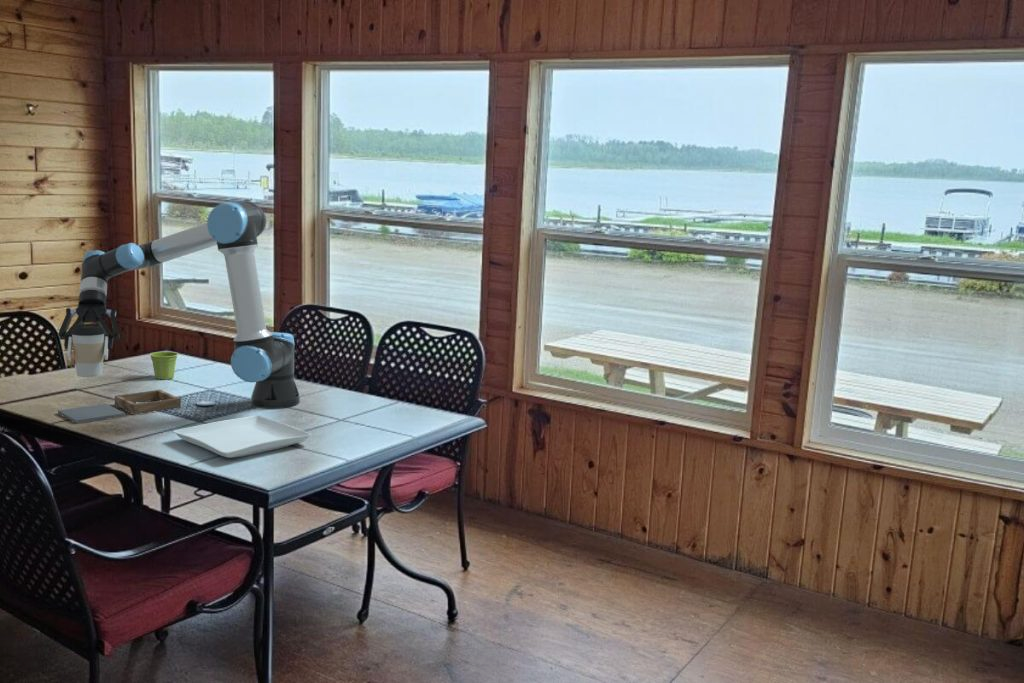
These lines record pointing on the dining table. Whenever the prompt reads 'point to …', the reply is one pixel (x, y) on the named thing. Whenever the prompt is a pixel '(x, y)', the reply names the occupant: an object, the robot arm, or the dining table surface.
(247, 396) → the dining table surface
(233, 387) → the dining table surface
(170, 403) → the brown wooden tray
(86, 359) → the coffee cup
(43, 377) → the dining table surface
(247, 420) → the square plate
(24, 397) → the dining table surface
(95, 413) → the rubber mat
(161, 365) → the plant pot
